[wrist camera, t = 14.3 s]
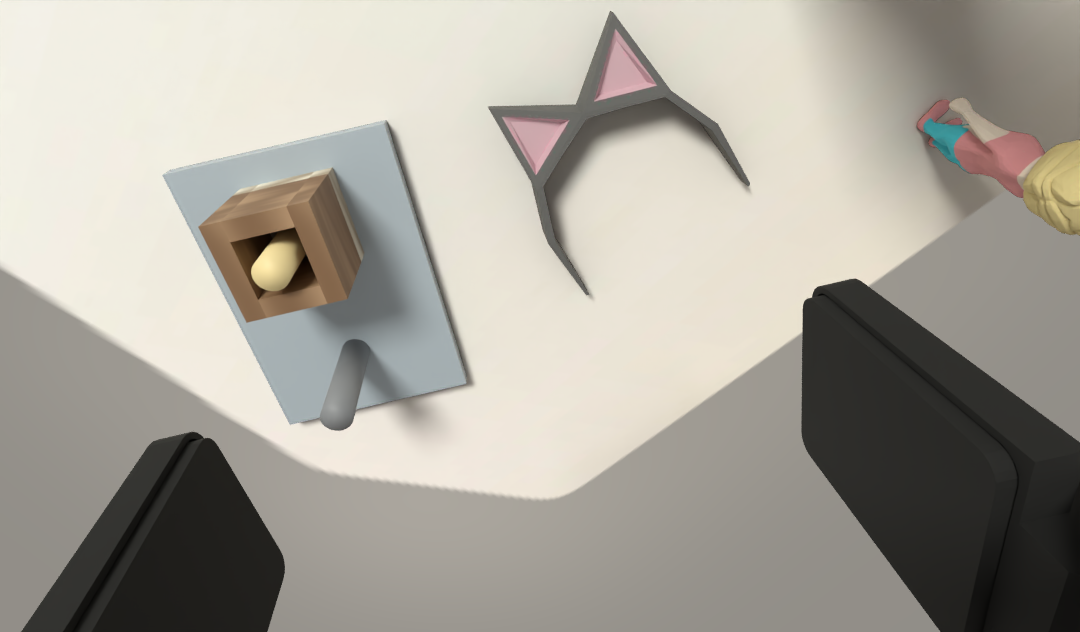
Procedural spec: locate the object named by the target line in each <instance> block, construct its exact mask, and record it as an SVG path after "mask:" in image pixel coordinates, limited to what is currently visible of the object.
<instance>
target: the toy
mask: <svg viewBox="0 0 1080 632" xmlns="http://www.w3.org/2000/svg"><path fill="white" fill-rule="evenodd" d="M949 108H950V109H952V110H953V111H955V112H957V113H959V114H962V115H963V116H964V118H965V119H966V121H967V122H968V124H966V125H961V124H962V120H961V119H960V118H956V119H953V120H951V121H949V122H947V123H946V124H941V123H935V122H936V120H937V119H938V118H940V117H941V116H942V115H943V114H945V113H946V111H947V110H948V109H949ZM917 127H918V129H919V130H921V131H923V132H925V133H927V134H929V135H930V136H931V138H930V140H929V145H930V146H931V147H937V148H938V149H939V150H940V151H941V152H942V154H943V155H944V156H945V157H946V158H947V159H948V160H949V161H951V162H953V163H956V164H958V165H959V167H960V168H962V169H963V170H964V171H966V172H968V173H971V174H983V175H987V176H991V177H993V178H995V179H997V180H998V181H999V182H1000V183H1001V184H1002V185H1003V186H1004V187H1005V188H1006V189H1007V190H1008V191H1010V192H1011V193H1012V194H1014V195H1015V196H1017V197H1020V198H1024V202H1025V204H1026V206H1027V208H1028V209H1029V210H1030V211H1031V212H1033V213H1034V214H1036V215H1037V216H1039V217H1041V218H1042V219H1043V220H1044V221H1045V222H1047V223H1048V224H1049V225H1051V226H1052V227H1054V228H1056V229H1057V230H1058V231H1059V232H1062V233H1066V234H1069V235H1073V234H1078V235H1080V139H1079V140H1075V141H1070V142H1066V143H1061V144H1058V145H1056V146H1054V147H1053V148H1051V149H1050V150H1049V151H1047V152H1046V153H1045V152H1044V150H1043V148H1042V146H1041V145H1040V143H1039V142H1038V141H1037V139H1036V138H1035V137H1033V136H1031V135H1029V134H1025V133H1019V132H1013V131H1007V130H1005V129H1002V128H1000V127H998V126H996V125H994V124H993V123H991V122H989V121H988V120H986V119H985V118H983V117H981V116H980V115H979V114H978V113H976V112H975V111H974V110H973V109H972V106H971V104H970V102H969V101H968V100H967V99H966V98H962V97H961V98H957V99H954V100H953V101H952V102H950V101H948V100H941V101H938V102H937V103H936V104H935V105H934V106H933V107H932V108H931V109H930V110H929V111H928V112H927V113H926V114H925V115H924V116H923V117H922V118H921V119H920V120H919V122H918V123H917Z"/></svg>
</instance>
